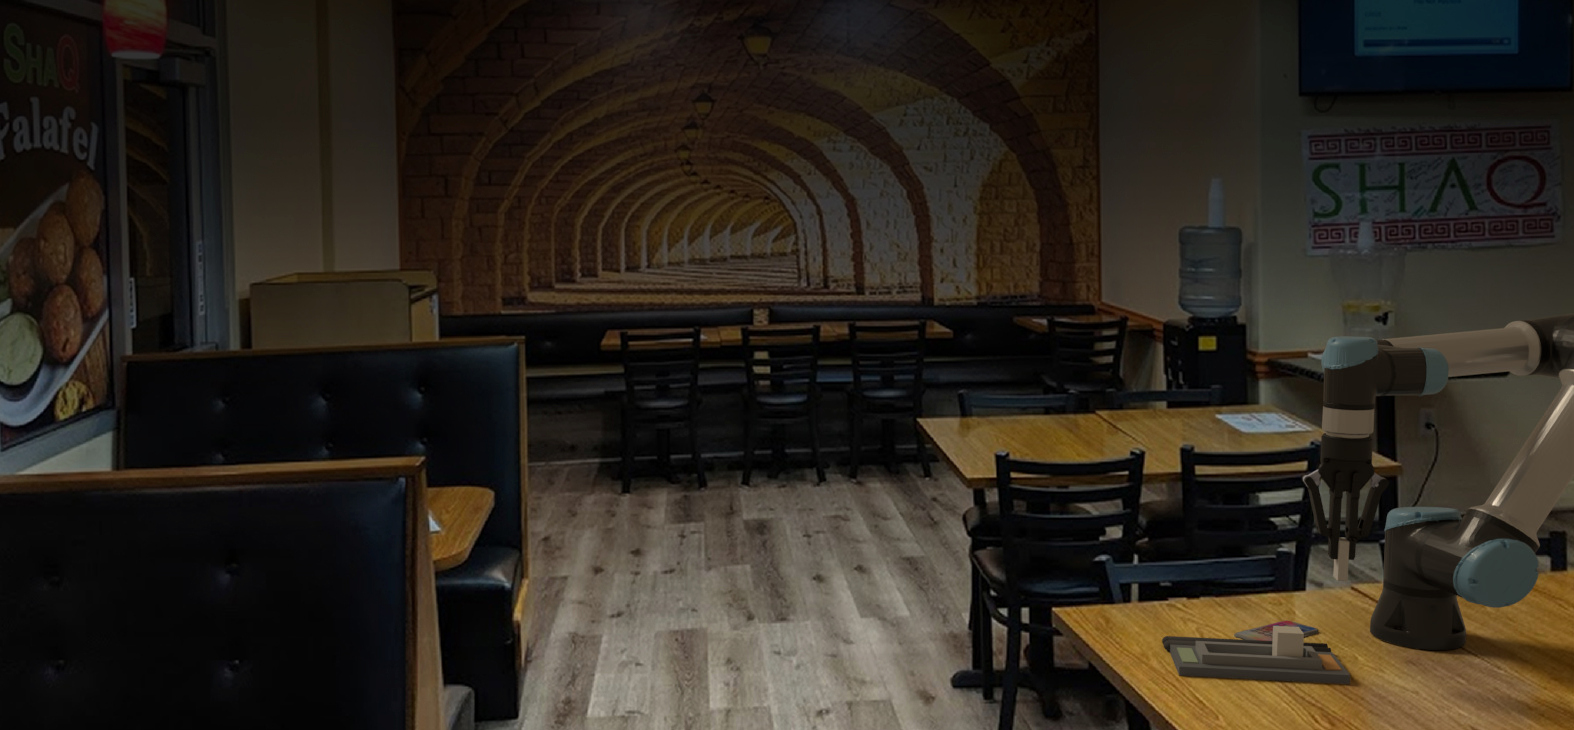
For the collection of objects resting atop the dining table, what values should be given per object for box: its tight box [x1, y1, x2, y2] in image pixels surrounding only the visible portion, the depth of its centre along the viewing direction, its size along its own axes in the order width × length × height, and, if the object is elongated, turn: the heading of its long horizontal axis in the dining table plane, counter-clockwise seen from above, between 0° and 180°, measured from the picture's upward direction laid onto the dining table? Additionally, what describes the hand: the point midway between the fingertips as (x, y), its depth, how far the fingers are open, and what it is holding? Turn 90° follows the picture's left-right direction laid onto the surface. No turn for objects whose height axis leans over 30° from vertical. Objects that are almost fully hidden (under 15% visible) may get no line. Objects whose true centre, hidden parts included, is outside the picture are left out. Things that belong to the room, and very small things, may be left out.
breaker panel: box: [1169, 641, 1351, 685], centre depth 208 cm, size 26×11×3 cm, turn 81°
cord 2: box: [1163, 640, 1332, 652], centre depth 215 cm, size 27×2×2 cm, turn 81°
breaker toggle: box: [1272, 626, 1305, 657], centre depth 207 cm, size 4×4×5 cm
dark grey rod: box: [1161, 635, 1329, 648], centre depth 217 cm, size 27×2×2 cm, turn 81°
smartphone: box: [1233, 620, 1320, 641], centre depth 226 cm, size 7×1×15 cm
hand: (1340, 578), depth 204 cm, fingers closed
